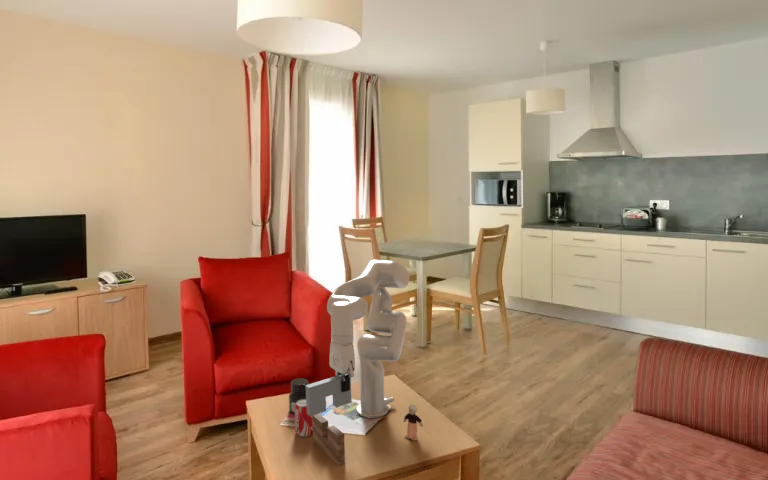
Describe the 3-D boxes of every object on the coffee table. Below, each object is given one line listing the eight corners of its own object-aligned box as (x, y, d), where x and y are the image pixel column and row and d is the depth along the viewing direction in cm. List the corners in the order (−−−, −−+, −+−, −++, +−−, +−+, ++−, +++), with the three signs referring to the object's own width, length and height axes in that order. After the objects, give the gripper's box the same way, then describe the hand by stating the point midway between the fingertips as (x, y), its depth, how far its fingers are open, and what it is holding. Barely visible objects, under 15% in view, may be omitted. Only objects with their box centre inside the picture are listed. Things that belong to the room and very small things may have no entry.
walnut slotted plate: (319, 439, 186) (318, 413, 184) (344, 462, 171) (344, 433, 170) (313, 441, 184) (312, 415, 183) (338, 464, 170) (337, 436, 168)
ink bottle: (292, 417, 202) (291, 388, 201) (285, 408, 210) (284, 380, 208) (315, 411, 207) (315, 383, 206) (307, 402, 215) (307, 375, 213)
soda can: (310, 439, 186) (309, 407, 184) (292, 437, 187) (291, 405, 186) (317, 429, 193) (316, 399, 191) (299, 427, 194) (298, 397, 193)
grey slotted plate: (310, 416, 170) (308, 387, 169) (306, 413, 172) (305, 385, 170) (351, 402, 179) (350, 375, 178) (347, 399, 181) (346, 372, 180)
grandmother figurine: (400, 438, 186) (400, 405, 184) (404, 433, 189) (404, 401, 187) (421, 442, 183) (421, 408, 181) (424, 437, 186) (424, 404, 185)
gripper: (321, 334, 180) (322, 384, 182) (345, 346, 167) (346, 400, 169) (339, 330, 184) (340, 379, 187) (364, 342, 171) (365, 394, 174)
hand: (343, 389), depth 178 cm, fingers closed on grey slotted plate, 2 cm apart
